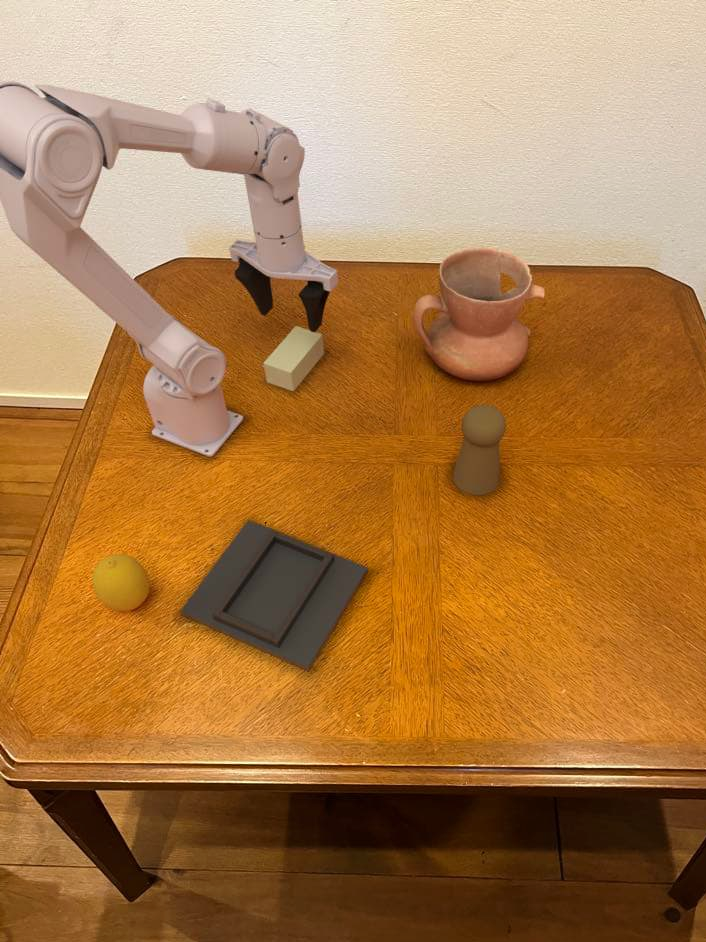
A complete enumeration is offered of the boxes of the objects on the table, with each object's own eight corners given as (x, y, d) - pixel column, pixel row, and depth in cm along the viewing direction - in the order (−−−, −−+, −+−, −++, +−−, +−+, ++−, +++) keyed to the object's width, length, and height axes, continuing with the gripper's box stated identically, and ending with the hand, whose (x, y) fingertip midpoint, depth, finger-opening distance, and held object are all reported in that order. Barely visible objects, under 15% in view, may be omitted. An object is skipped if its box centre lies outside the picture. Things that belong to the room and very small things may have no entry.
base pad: (182, 615, 82) (177, 605, 80) (249, 524, 89) (246, 513, 87) (308, 672, 78) (306, 662, 76) (367, 572, 85) (367, 561, 84)
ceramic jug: (520, 322, 113) (535, 236, 101) (543, 387, 104) (563, 302, 93) (404, 331, 111) (405, 245, 99) (418, 397, 103) (421, 312, 91)
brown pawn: (496, 499, 92) (508, 437, 83) (449, 490, 93) (455, 429, 84) (502, 463, 96) (514, 401, 87) (456, 456, 96) (463, 393, 87)
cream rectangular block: (266, 382, 104) (262, 363, 101) (298, 344, 109) (295, 325, 106) (293, 391, 103) (290, 372, 100) (324, 353, 108) (322, 334, 105)
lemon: (110, 583, 84) (87, 542, 77) (159, 580, 84) (140, 539, 78) (102, 625, 81) (77, 586, 74) (154, 622, 81) (134, 583, 75)
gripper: (347, 223, 88) (353, 317, 99) (244, 194, 92) (261, 287, 103) (317, 255, 84) (327, 348, 95) (211, 223, 88) (233, 316, 99)
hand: (291, 319), depth 99 cm, fingers open, 7 cm apart
